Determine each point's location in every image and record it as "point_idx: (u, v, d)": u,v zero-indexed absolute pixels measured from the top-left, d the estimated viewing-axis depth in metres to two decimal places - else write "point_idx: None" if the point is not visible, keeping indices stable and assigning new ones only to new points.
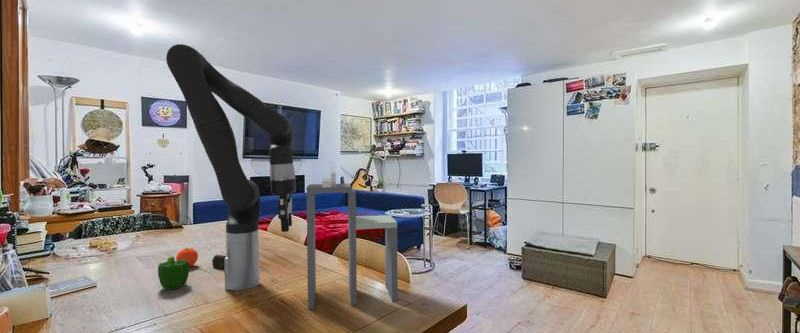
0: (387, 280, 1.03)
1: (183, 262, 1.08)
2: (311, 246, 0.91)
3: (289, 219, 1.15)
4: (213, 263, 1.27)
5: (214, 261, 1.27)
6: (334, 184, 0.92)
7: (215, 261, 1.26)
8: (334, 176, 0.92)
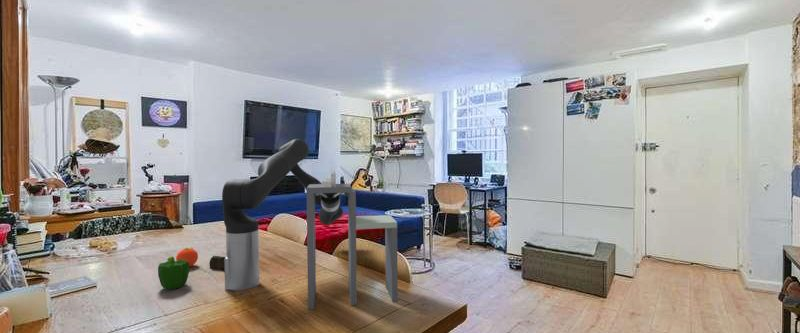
0: (387, 280, 1.03)
1: (183, 262, 1.08)
2: (311, 246, 0.91)
3: None
4: (210, 264, 1.26)
5: (212, 262, 1.25)
6: (334, 184, 0.92)
7: (213, 262, 1.25)
8: (334, 176, 0.92)
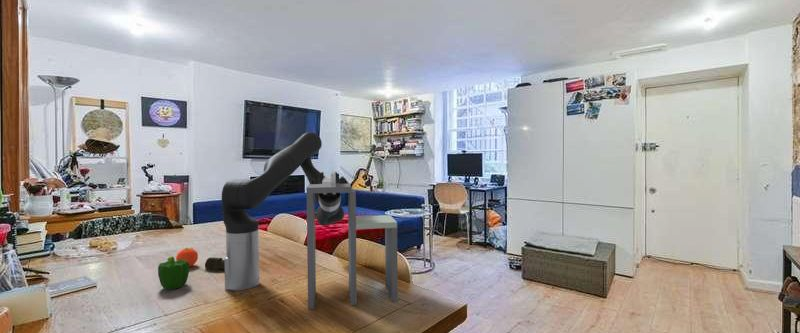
0: (387, 280, 1.03)
1: (183, 262, 1.08)
2: (311, 246, 0.91)
3: None
4: (206, 266, 1.24)
5: (208, 264, 1.23)
6: (334, 184, 0.92)
7: (209, 264, 1.23)
8: (334, 176, 0.92)
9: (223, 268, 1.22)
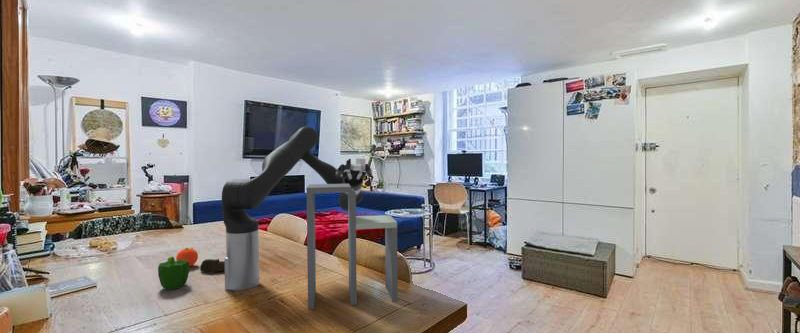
0: (387, 280, 1.03)
1: (183, 262, 1.08)
2: (311, 246, 0.91)
3: None
4: (202, 268, 1.21)
5: (204, 266, 1.21)
6: (364, 168, 1.06)
7: (206, 266, 1.21)
8: (364, 161, 1.05)
9: (221, 269, 1.21)
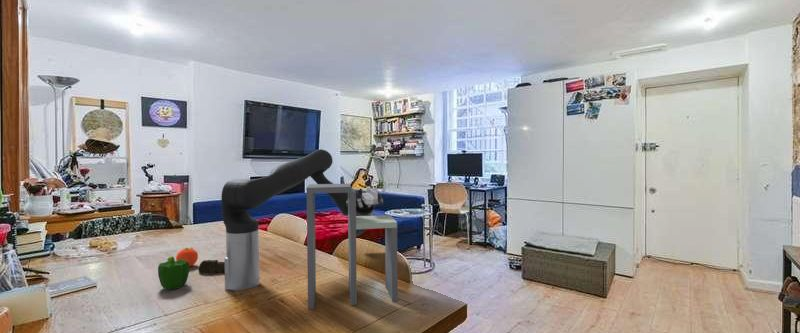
0: (387, 280, 1.03)
1: (183, 262, 1.08)
2: (311, 246, 0.91)
3: (361, 195, 1.19)
4: (201, 269, 1.20)
5: (203, 267, 1.20)
6: (376, 201, 1.04)
7: (204, 267, 1.20)
8: (376, 194, 1.04)
9: (221, 270, 1.20)
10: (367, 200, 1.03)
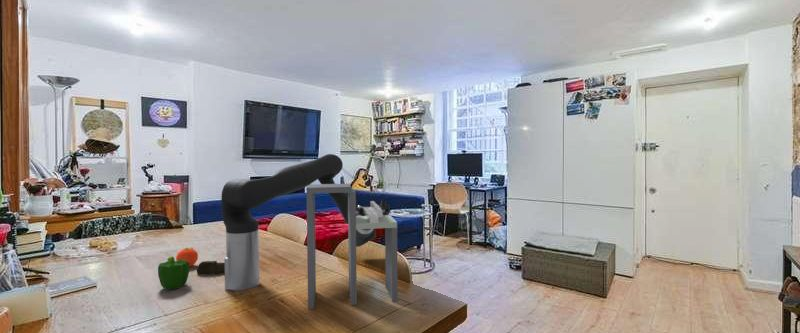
0: (387, 280, 1.03)
1: (183, 262, 1.08)
2: (311, 246, 0.91)
3: None
4: (199, 271, 1.19)
5: (201, 268, 1.19)
6: (381, 220, 0.94)
7: (203, 268, 1.19)
8: (381, 212, 0.94)
9: (220, 271, 1.19)
10: (371, 218, 0.94)
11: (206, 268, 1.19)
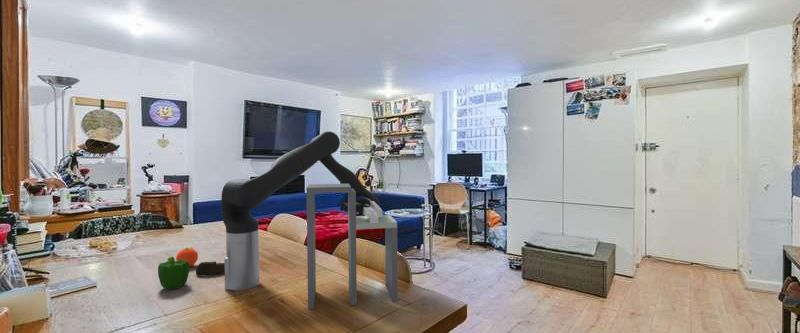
0: (387, 280, 1.03)
1: (183, 262, 1.08)
2: (311, 246, 0.91)
3: None
4: (198, 271, 1.18)
5: (201, 269, 1.18)
6: (381, 220, 0.94)
7: (203, 269, 1.18)
8: (381, 212, 0.94)
9: (220, 271, 1.19)
10: (371, 218, 0.94)
11: (205, 269, 1.18)
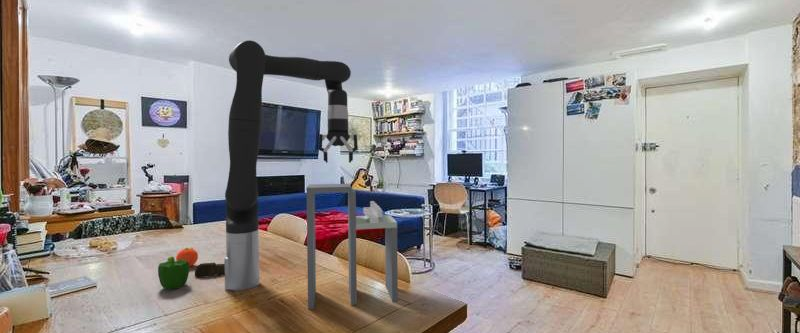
0: (387, 280, 1.03)
1: (183, 262, 1.08)
2: (311, 246, 0.91)
3: None
4: (198, 273, 1.16)
5: (200, 270, 1.16)
6: (381, 220, 0.94)
7: (202, 270, 1.16)
8: (381, 212, 0.94)
9: (220, 272, 1.18)
10: (371, 218, 0.94)
11: (205, 270, 1.17)
